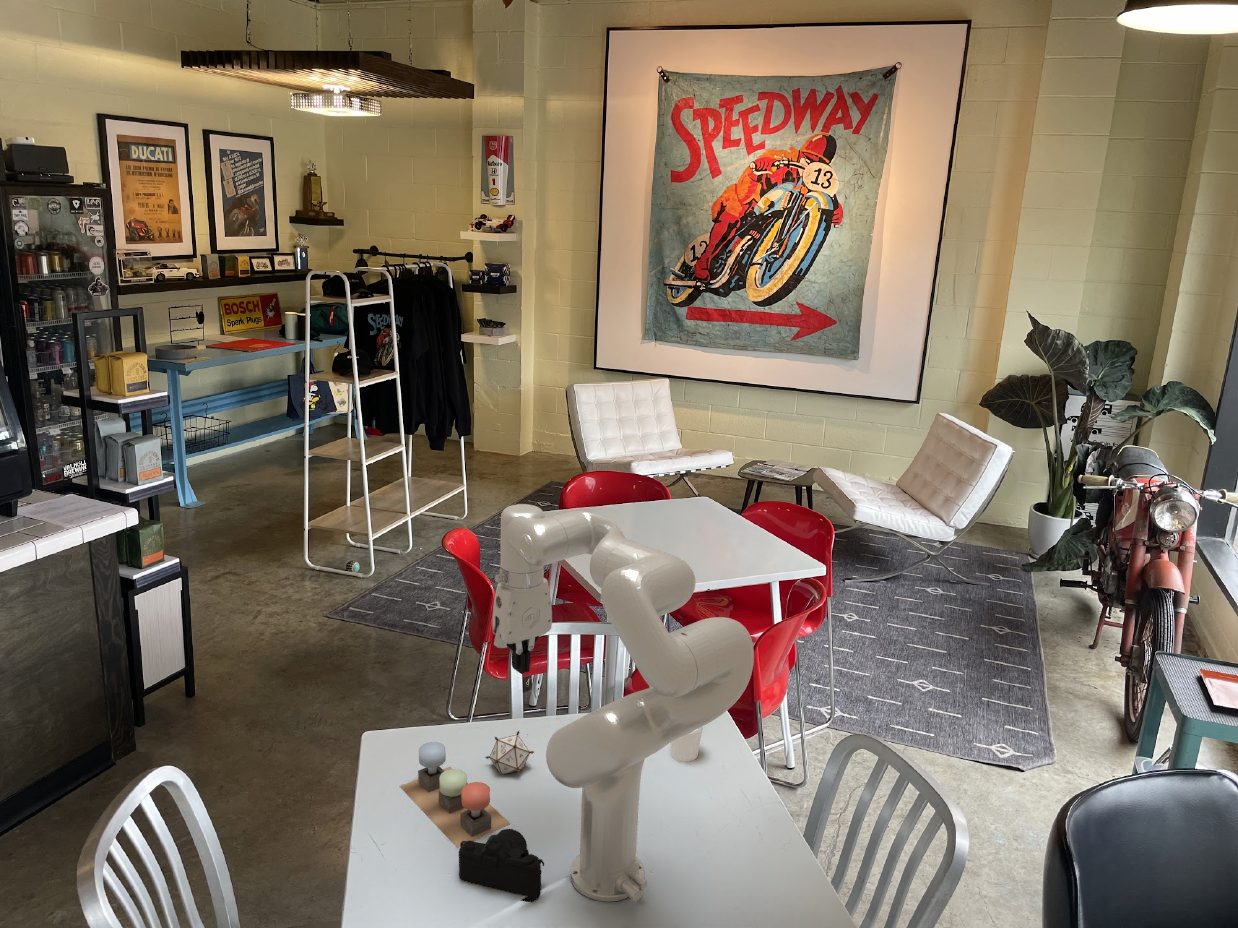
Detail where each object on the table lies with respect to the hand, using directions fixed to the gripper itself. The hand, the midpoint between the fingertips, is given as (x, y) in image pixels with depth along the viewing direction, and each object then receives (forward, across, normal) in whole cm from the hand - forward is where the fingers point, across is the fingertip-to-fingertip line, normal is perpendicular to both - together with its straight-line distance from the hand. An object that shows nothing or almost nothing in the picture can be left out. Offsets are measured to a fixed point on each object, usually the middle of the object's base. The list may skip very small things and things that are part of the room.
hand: (520, 669), depth 167 cm
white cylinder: (+29, +38, -5) cm, 48 cm away
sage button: (+27, -10, +7) cm, 30 cm away
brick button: (+25, -10, -1) cm, 27 cm away
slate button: (+25, -10, +15) cm, 31 cm away
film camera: (+30, -12, -14) cm, 35 cm away
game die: (+29, +5, +11) cm, 32 cm away
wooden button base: (+29, -10, +7) cm, 32 cm away
